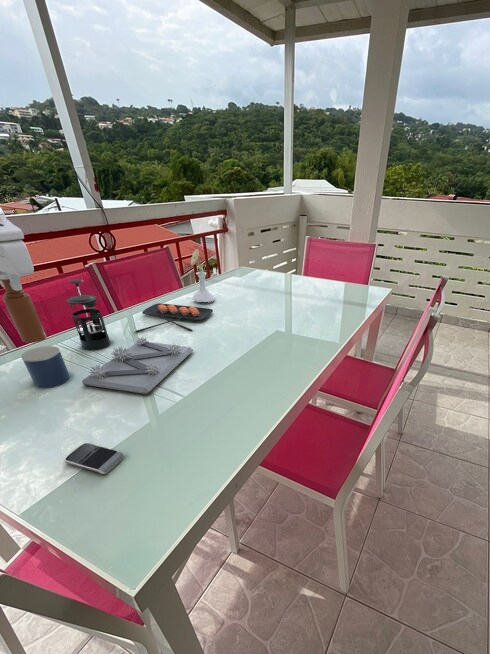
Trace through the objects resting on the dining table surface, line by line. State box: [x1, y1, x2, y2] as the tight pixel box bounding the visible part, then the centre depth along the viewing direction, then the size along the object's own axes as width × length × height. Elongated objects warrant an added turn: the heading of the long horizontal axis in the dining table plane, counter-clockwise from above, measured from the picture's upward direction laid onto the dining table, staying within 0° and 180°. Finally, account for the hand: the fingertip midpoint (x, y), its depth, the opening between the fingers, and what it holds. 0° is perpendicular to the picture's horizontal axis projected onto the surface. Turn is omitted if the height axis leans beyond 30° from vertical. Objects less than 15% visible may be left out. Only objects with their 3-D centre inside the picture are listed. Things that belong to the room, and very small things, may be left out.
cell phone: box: [63, 442, 124, 475], centre depth 73 cm, size 6×11×1 cm, turn 73°
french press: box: [66, 278, 112, 351], centre depth 114 cm, size 12×9×23 cm
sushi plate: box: [135, 303, 214, 333], centre depth 141 cm, size 29×30×4 cm
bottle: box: [0, 272, 48, 344], centre depth 87 cm, size 6×6×18 cm
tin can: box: [20, 345, 71, 389], centre depth 97 cm, size 9×9×9 cm
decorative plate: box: [81, 337, 194, 395], centre depth 106 cm, size 30×22×7 cm
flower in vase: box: [190, 248, 217, 304], centre depth 158 cm, size 13×11×25 cm
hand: (12, 288), depth 84 cm, fingers closed on bottle, 3 cm apart
